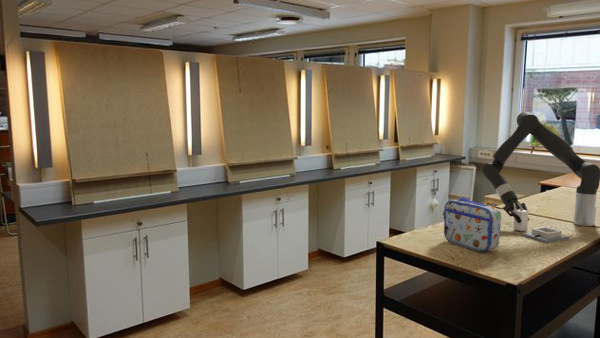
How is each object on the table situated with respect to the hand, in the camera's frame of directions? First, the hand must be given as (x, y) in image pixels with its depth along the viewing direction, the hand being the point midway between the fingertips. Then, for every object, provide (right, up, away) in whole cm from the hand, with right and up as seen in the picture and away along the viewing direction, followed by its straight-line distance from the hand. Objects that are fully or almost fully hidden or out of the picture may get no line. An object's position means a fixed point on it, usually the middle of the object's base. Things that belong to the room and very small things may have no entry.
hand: (523, 221), depth 235 cm
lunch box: (-37, -9, -23) cm, 44 cm away
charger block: (-1, -4, +2) cm, 5 cm away
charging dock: (+6, -7, -10) cm, 14 cm away
